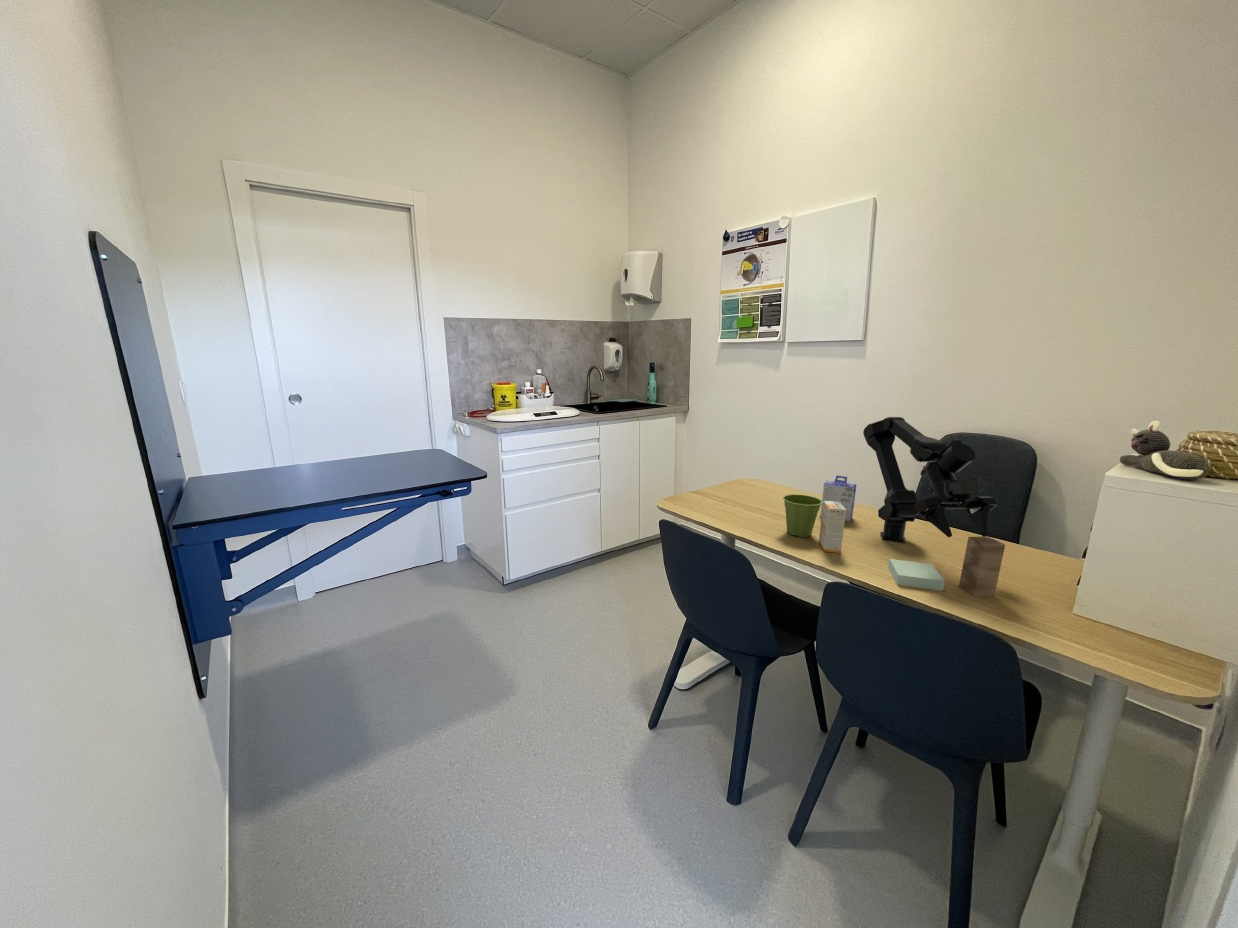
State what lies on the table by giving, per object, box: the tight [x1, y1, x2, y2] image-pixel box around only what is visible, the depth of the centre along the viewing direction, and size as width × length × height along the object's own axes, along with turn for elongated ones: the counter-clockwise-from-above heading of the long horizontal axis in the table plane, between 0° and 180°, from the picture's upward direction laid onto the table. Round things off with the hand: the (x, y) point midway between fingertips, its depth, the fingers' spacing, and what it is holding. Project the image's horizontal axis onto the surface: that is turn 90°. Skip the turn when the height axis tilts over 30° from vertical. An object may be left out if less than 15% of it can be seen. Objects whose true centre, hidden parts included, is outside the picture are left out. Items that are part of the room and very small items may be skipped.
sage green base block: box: [887, 558, 946, 591], centre depth 124 cm, size 10×10×3 cm
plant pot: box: [782, 493, 823, 538], centre depth 153 cm, size 12×12×11 cm
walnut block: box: [958, 536, 1006, 597], centre depth 117 cm, size 5×5×13 cm
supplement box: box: [818, 501, 846, 554], centre depth 142 cm, size 8×5×13 cm, turn 168°
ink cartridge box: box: [819, 474, 857, 522], centre depth 168 cm, size 10×6×14 cm, turn 58°
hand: (967, 536), depth 121 cm, fingers open, 9 cm apart
